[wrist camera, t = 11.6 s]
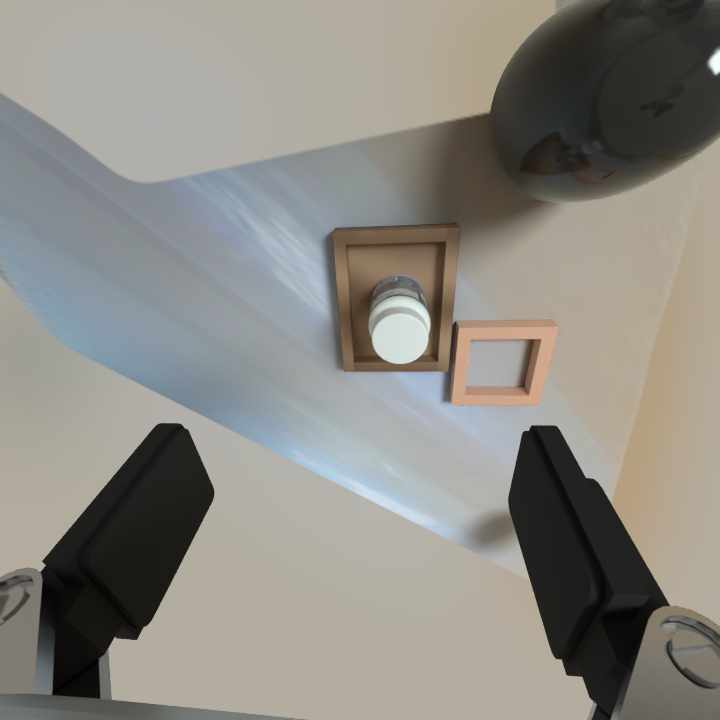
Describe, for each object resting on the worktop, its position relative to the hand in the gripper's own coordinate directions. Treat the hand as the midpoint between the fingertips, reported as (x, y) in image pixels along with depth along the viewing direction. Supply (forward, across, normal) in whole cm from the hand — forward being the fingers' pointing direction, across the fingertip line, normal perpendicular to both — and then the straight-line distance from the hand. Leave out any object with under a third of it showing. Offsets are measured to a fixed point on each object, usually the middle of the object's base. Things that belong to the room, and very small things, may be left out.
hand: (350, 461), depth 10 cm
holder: (+24, -11, +12) cm, 29 cm away
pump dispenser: (+25, -12, -8) cm, 29 cm away
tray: (+24, -1, +5) cm, 25 cm away
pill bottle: (+24, -1, +5) cm, 24 cm away
